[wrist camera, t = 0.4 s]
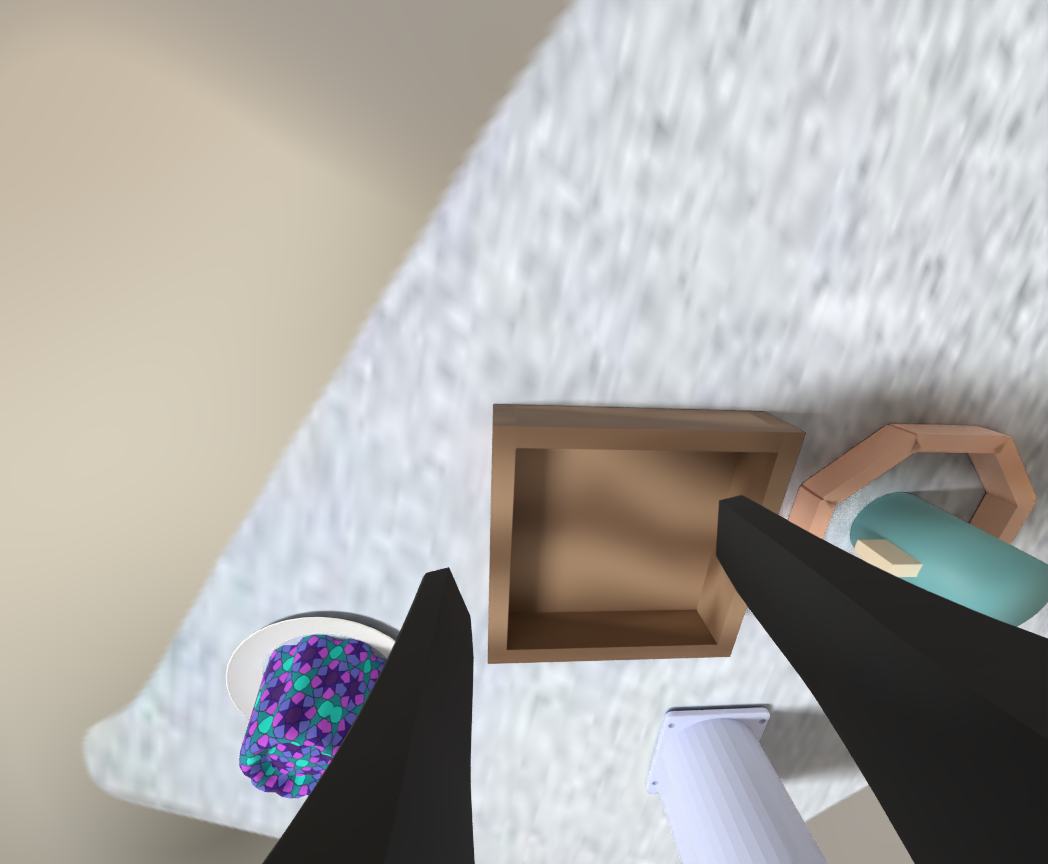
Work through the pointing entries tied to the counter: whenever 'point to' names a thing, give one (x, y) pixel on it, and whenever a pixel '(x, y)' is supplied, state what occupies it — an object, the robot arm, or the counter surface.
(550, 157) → the counter surface
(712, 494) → the tray
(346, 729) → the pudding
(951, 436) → the collar
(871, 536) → the teal tapered cylinder
